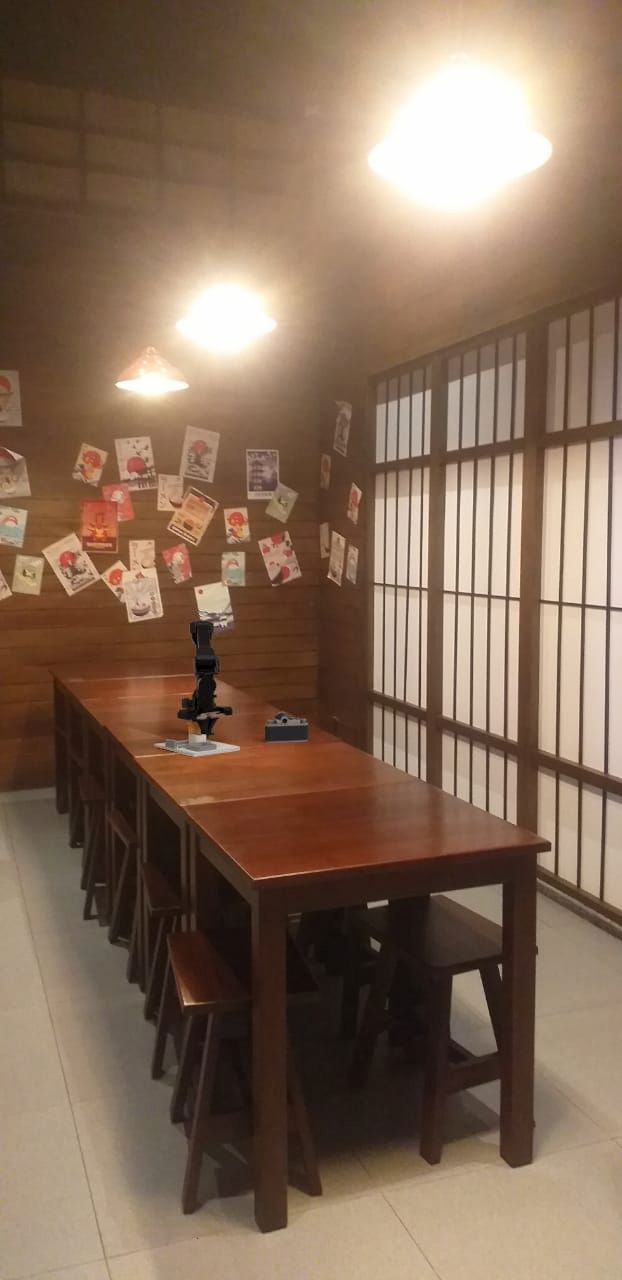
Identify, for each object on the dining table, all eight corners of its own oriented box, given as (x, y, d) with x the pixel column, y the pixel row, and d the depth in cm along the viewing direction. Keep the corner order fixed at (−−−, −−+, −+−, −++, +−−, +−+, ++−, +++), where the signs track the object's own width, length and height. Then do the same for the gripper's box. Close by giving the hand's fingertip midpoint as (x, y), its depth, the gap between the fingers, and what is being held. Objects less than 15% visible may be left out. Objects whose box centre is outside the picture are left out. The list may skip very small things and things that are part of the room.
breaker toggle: (198, 742, 322) (198, 732, 321) (206, 743, 319) (206, 734, 319) (188, 743, 319) (188, 733, 319) (196, 745, 316) (196, 735, 316)
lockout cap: (196, 739, 329) (196, 721, 328) (204, 740, 325) (204, 722, 325) (184, 740, 326) (184, 722, 325) (193, 742, 322) (193, 724, 322)
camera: (304, 738, 340) (304, 709, 340) (310, 741, 332) (310, 712, 332) (260, 739, 336) (260, 710, 336) (265, 743, 328) (265, 713, 328)
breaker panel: (199, 741, 330) (199, 731, 330) (239, 750, 314) (239, 739, 314) (154, 747, 318) (154, 736, 318) (194, 757, 302) (194, 745, 302)
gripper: (213, 687, 332) (213, 733, 333) (167, 691, 319) (167, 738, 320) (233, 690, 324) (233, 736, 325) (187, 694, 311) (187, 743, 312)
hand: (205, 738), depth 321 cm, fingers closed
